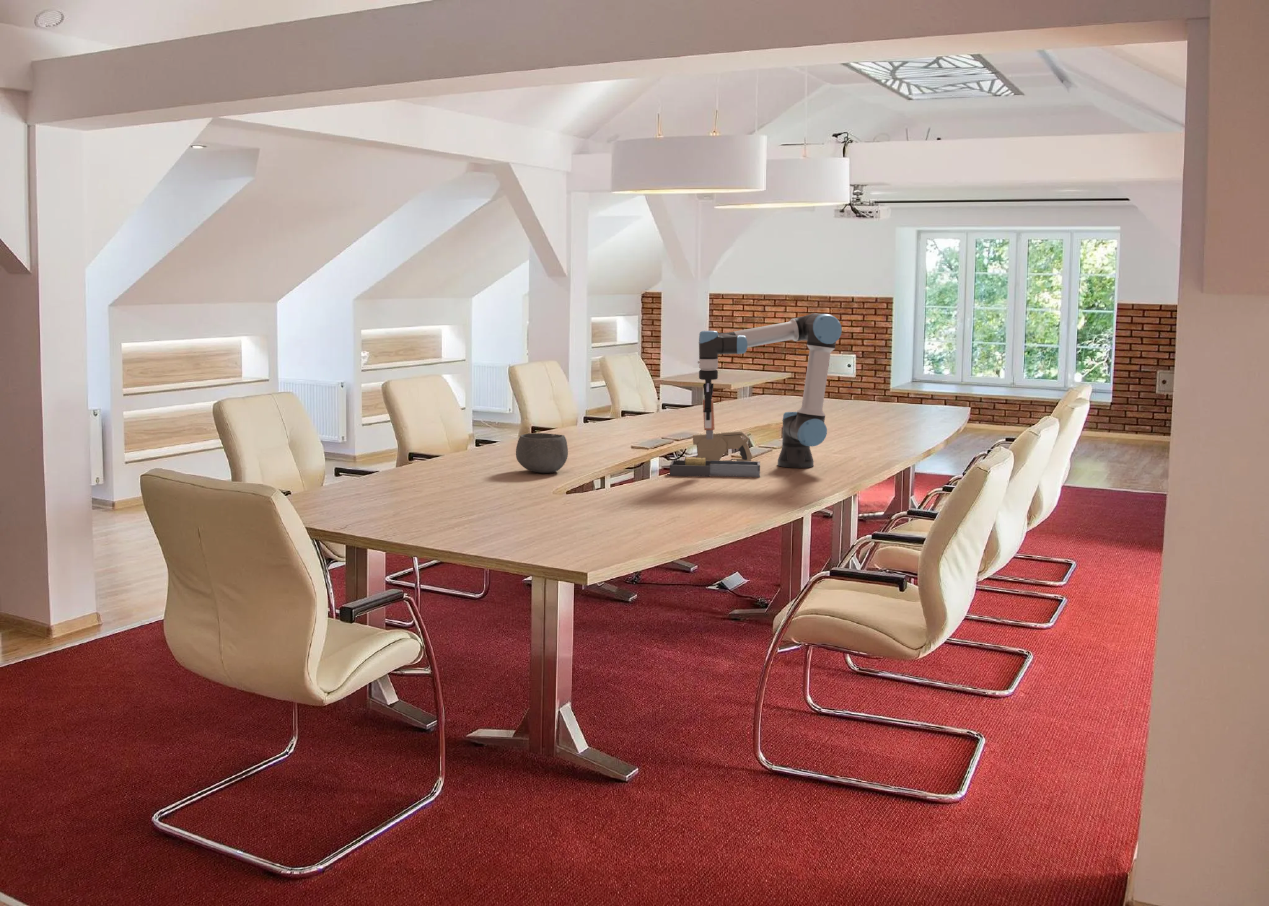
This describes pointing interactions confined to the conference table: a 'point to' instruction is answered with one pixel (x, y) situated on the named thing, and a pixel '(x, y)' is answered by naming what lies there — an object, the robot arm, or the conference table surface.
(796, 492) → the conference table surface
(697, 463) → the tan cube
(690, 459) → the tan wooden cube
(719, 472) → the rail
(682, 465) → the tray
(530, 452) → the bowl
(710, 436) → the salmon pink rectangular prism
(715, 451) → the gun
